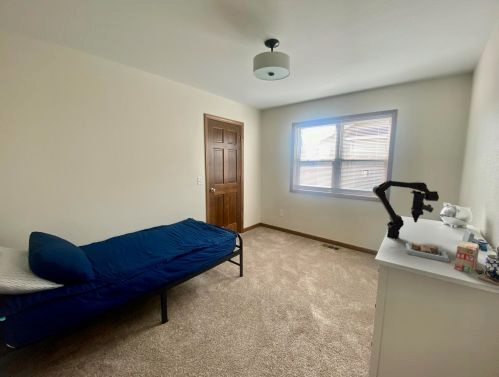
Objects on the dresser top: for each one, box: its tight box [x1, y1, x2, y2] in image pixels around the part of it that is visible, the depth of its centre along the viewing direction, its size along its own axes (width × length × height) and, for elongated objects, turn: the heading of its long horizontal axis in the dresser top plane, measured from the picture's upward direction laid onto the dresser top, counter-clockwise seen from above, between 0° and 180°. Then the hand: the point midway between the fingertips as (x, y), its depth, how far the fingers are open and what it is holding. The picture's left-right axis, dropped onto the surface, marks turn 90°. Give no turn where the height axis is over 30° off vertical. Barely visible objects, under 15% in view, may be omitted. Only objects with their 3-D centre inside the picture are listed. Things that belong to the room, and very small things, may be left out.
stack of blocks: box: [454, 240, 480, 274], centre depth 109 cm, size 21×6×12 cm, turn 128°
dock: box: [405, 242, 450, 263], centre depth 123 cm, size 18×14×2 cm
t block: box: [410, 241, 439, 255], centre depth 125 cm, size 12×12×3 cm
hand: (415, 222), depth 146 cm, fingers closed
